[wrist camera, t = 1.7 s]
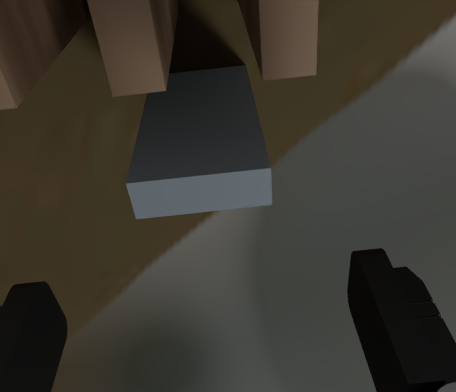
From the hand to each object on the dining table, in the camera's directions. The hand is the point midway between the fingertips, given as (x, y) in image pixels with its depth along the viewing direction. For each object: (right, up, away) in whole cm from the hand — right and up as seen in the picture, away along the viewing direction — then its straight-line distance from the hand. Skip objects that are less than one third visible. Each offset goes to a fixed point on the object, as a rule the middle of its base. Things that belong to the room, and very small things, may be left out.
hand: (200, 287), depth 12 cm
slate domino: (-1, +8, +12) cm, 15 cm away
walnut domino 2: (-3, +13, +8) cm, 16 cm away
